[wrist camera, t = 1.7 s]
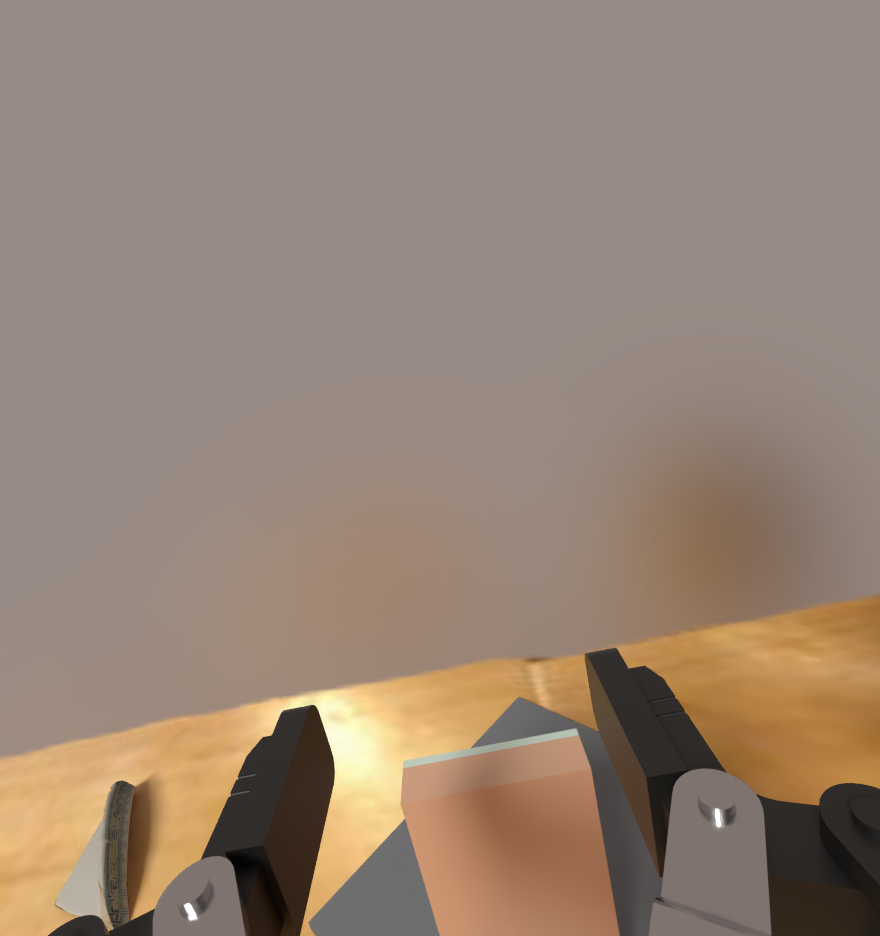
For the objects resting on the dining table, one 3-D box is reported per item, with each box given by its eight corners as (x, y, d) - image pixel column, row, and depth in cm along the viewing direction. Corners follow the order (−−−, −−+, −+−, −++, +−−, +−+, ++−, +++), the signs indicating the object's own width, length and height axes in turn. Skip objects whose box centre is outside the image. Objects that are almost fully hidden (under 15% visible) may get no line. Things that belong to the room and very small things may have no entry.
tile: (464, 973, 27) (403, 761, 23) (614, 947, 27) (576, 728, 23) (467, 1028, 25) (400, 804, 21) (630, 1001, 24) (591, 768, 21)
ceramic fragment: (130, 937, 33) (108, 893, 32) (37, 993, 31) (10, 948, 30) (144, 792, 46) (129, 757, 45) (78, 825, 44) (60, 790, 43)
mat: (519, 702, 46) (518, 697, 45) (747, 804, 33) (746, 796, 33) (311, 929, 31) (308, 922, 31) (572, 1270, 18) (570, 1261, 18)
